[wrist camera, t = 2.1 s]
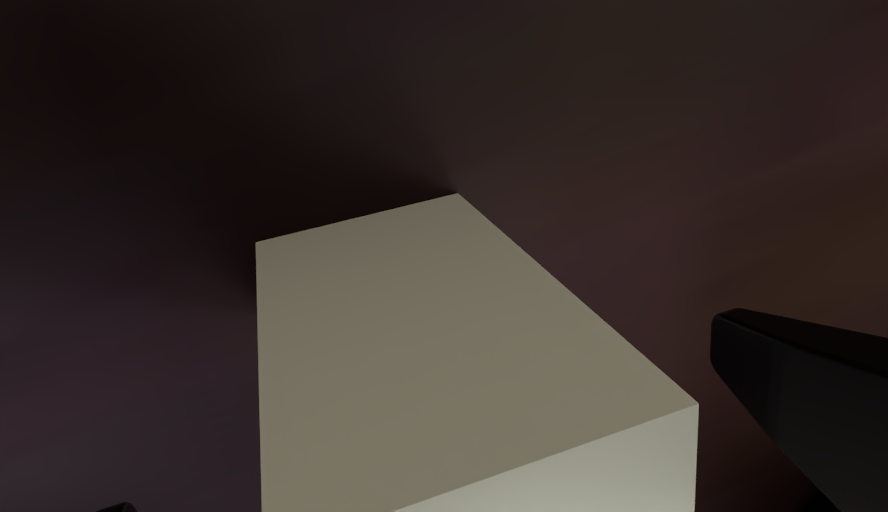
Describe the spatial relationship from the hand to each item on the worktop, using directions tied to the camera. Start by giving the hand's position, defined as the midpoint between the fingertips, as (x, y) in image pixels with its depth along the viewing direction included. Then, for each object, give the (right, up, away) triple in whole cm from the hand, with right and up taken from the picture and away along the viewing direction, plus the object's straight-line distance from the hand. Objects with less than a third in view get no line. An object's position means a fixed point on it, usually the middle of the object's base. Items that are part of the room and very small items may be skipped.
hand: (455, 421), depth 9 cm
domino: (-2, +2, +6) cm, 7 cm away
